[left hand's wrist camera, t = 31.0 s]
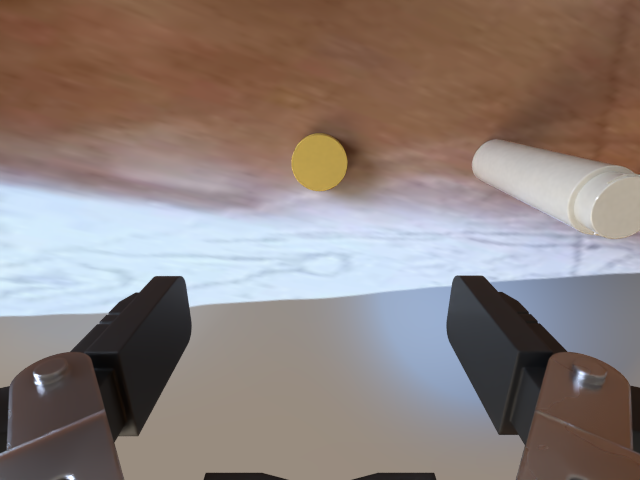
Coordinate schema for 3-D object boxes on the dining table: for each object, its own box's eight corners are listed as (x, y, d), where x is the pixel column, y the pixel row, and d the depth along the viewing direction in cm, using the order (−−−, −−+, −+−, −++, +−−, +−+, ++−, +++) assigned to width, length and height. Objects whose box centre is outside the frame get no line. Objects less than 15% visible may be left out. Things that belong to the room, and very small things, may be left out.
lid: (281, 157, 37) (279, 160, 35) (322, 121, 36) (323, 122, 34) (316, 197, 39) (316, 202, 37) (356, 164, 37) (358, 167, 36)
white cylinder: (523, 168, 37) (674, 219, 22) (482, 191, 38) (599, 257, 22) (505, 129, 36) (653, 154, 20) (464, 155, 37) (574, 198, 21)
